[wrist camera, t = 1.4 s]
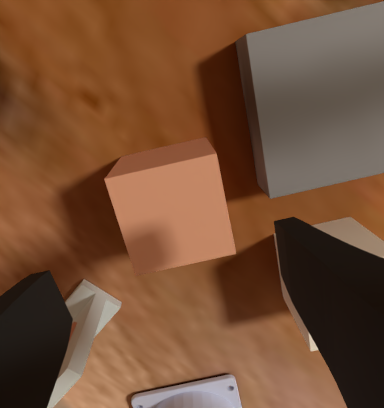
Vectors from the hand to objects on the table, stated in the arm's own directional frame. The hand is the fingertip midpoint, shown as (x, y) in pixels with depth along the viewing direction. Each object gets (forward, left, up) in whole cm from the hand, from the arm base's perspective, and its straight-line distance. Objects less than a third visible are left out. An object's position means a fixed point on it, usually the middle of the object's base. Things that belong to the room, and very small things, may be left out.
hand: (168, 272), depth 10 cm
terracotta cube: (0, 0, -10) cm, 10 cm away
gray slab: (+3, -9, -10) cm, 14 cm away
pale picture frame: (-8, +9, -10) cm, 16 cm away
